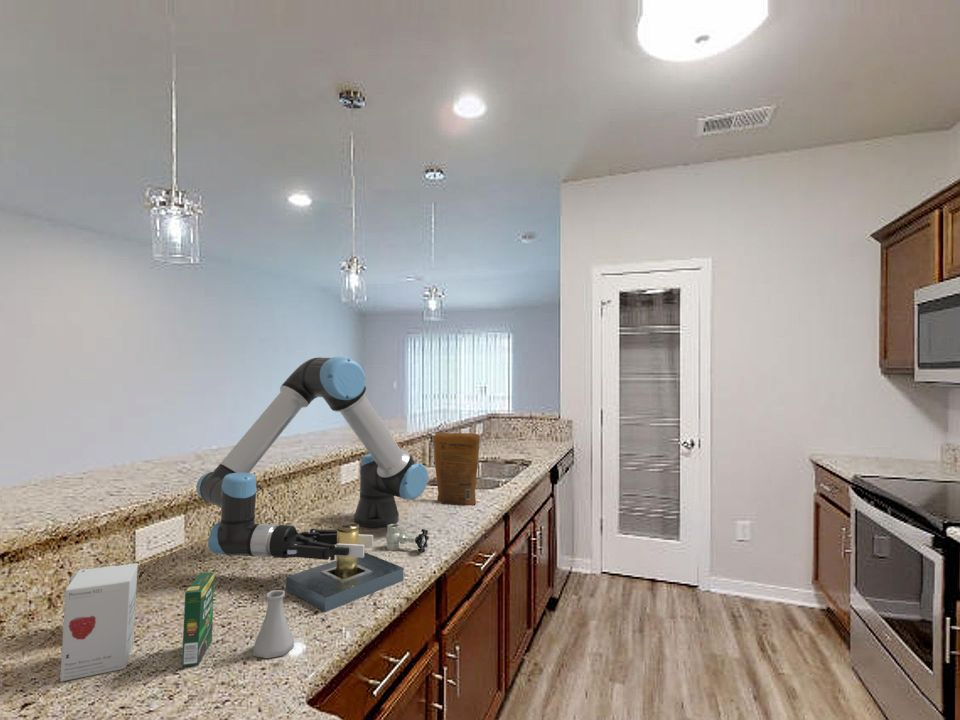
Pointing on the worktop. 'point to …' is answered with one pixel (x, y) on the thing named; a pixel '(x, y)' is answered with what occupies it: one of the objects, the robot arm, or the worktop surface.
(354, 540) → the brass bushing
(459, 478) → the pancake mix bag
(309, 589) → the plate
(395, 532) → the valve
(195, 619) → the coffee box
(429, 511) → the worktop surface
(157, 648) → the worktop surface
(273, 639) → the flask
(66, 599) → the supplement box
